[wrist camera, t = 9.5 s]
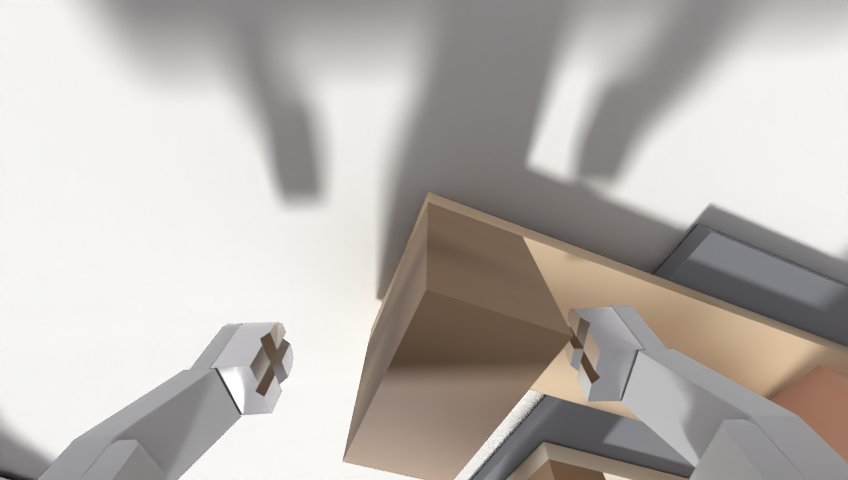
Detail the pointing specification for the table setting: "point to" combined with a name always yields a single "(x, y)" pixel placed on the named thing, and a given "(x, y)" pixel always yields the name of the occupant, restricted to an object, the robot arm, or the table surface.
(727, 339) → the oak strip
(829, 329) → the lane mat
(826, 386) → the terracotta cube
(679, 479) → the pale ash strip
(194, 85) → the table surface
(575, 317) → the robot arm
